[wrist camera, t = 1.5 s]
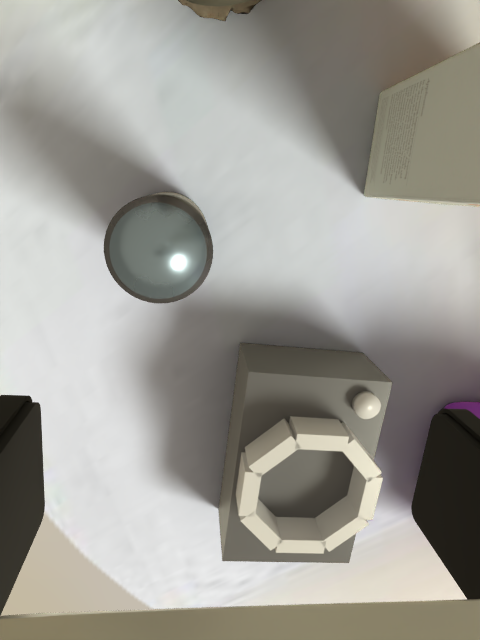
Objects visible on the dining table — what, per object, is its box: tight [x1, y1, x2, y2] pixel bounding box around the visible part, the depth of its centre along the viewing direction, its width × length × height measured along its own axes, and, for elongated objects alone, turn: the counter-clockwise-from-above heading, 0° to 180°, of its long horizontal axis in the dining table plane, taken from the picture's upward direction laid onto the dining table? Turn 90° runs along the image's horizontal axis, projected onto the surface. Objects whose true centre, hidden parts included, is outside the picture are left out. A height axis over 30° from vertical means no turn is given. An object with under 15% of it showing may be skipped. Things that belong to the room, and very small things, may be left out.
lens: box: [104, 192, 213, 303], centre depth 24 cm, size 5×5×8 cm
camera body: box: [218, 343, 392, 563], centre depth 30 cm, size 14×9×7 cm, turn 173°
